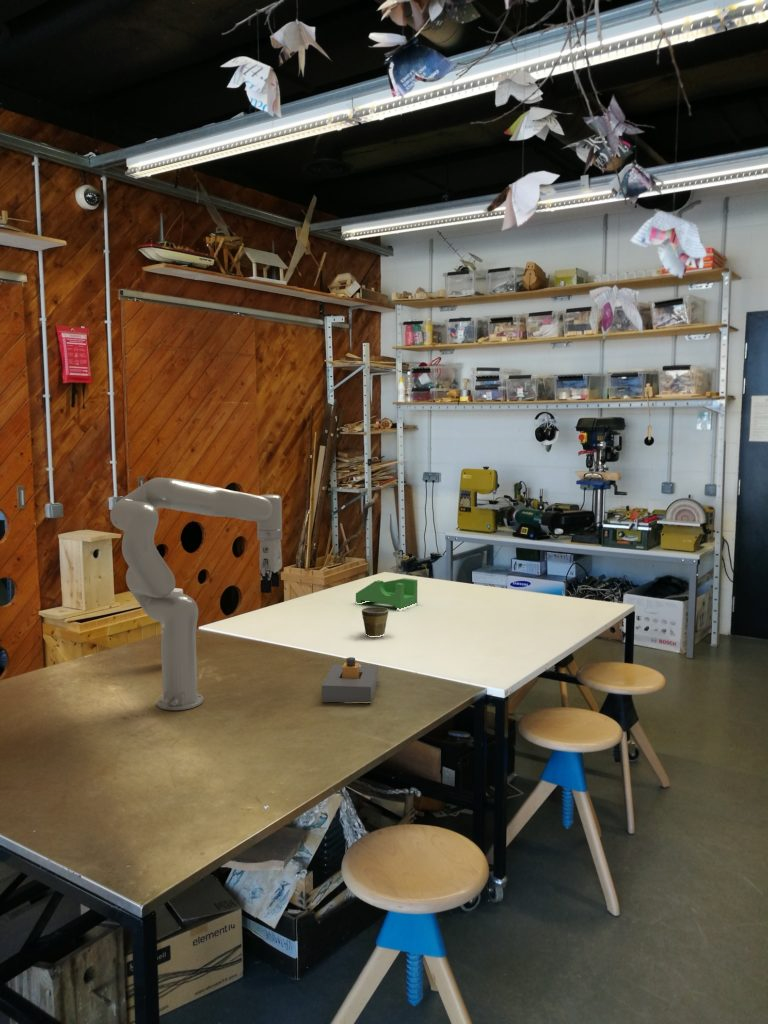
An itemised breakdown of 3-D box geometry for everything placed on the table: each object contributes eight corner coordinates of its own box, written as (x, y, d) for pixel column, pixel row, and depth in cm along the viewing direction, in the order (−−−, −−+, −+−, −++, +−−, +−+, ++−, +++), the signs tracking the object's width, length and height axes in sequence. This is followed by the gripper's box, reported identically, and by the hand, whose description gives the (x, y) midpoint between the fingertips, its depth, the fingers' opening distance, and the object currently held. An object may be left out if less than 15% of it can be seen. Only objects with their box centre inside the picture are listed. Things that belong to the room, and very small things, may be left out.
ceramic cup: (392, 637, 286) (392, 611, 285) (367, 640, 283) (367, 613, 281) (379, 629, 298) (379, 604, 297) (355, 631, 295) (355, 606, 293)
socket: (370, 704, 216) (370, 684, 216) (322, 702, 218) (321, 682, 217) (377, 681, 236) (377, 662, 236) (333, 679, 238) (332, 661, 237)
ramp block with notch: (417, 606, 339) (417, 579, 337) (400, 612, 328) (400, 584, 326) (373, 599, 352) (373, 574, 351) (355, 605, 341) (355, 578, 340)
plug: (357, 690, 224) (357, 661, 223) (342, 690, 225) (342, 660, 224) (359, 685, 229) (359, 656, 228) (344, 685, 229) (344, 656, 228)
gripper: (274, 538, 226) (275, 595, 228) (288, 531, 243) (288, 584, 245) (250, 538, 227) (250, 595, 229) (265, 531, 244) (265, 583, 246)
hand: (270, 589), depth 237 cm, fingers open, 9 cm apart
